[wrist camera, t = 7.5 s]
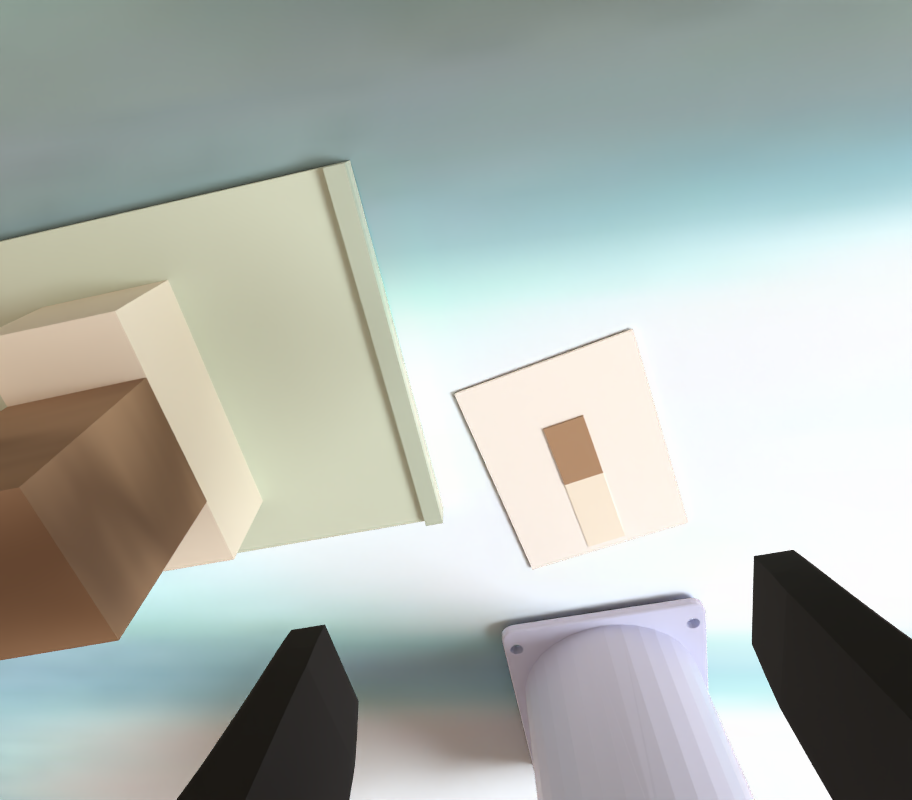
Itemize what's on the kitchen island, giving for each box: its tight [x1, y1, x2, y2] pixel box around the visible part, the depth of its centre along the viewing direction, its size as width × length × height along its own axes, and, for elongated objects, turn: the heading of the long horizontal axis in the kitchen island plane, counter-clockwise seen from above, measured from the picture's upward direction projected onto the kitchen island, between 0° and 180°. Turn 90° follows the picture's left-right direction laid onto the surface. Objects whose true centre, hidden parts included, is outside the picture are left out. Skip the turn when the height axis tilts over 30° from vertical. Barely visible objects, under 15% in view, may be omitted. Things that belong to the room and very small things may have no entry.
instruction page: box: [454, 329, 688, 569], centre depth 21 cm, size 8×6×1 cm
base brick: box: [0, 280, 263, 571], centre depth 18 cm, size 8×4×3 cm, turn 12°
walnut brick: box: [0, 378, 207, 660], centre depth 14 cm, size 4×4×5 cm
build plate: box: [0, 160, 443, 553], centre depth 19 cm, size 12×14×1 cm
